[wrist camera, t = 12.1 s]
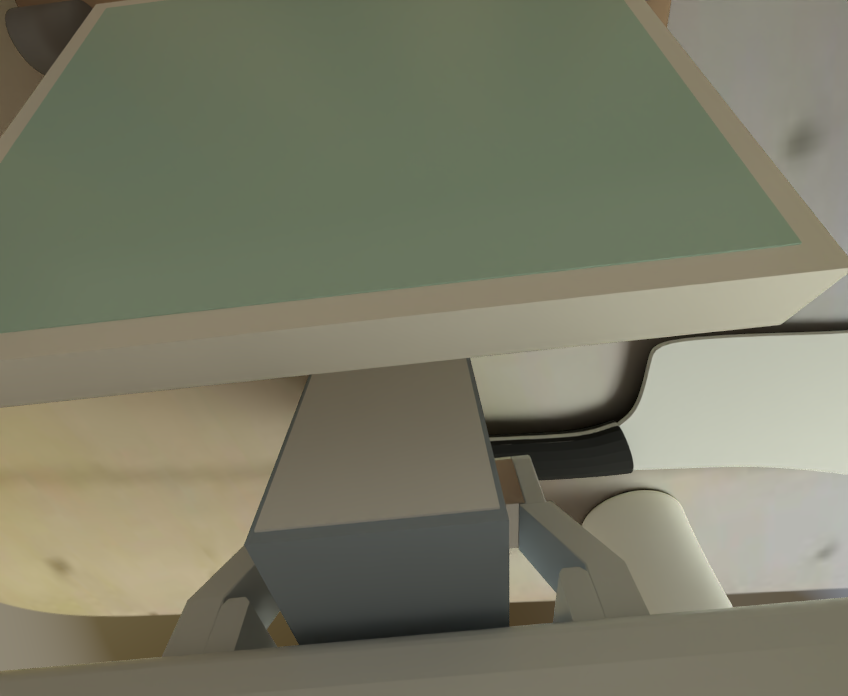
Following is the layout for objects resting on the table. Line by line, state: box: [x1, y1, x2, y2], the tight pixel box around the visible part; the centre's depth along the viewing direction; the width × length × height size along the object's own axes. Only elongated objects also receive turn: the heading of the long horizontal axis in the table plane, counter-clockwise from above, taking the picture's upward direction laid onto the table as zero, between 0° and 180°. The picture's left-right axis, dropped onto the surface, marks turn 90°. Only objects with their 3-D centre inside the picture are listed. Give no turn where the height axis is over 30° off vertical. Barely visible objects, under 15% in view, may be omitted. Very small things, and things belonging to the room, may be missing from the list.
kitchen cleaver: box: [489, 330, 848, 480], centre depth 19 cm, size 31×2×10 cm
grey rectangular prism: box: [244, 358, 509, 645], centre depth 11 cm, size 4×8×8 cm, turn 6°
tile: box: [0, 0, 848, 408], centre depth 8 cm, size 12×10×1 cm
